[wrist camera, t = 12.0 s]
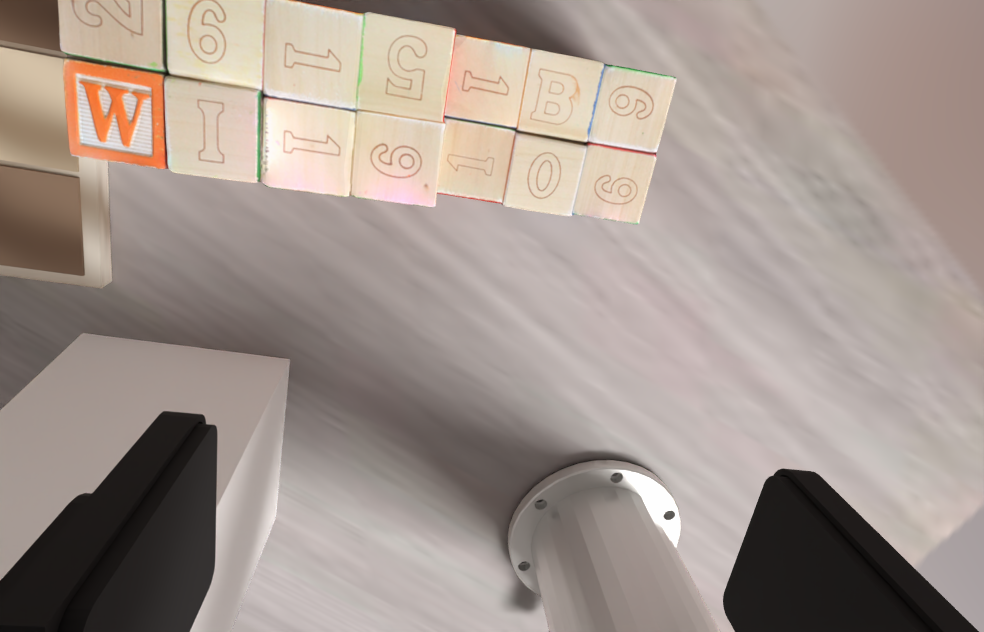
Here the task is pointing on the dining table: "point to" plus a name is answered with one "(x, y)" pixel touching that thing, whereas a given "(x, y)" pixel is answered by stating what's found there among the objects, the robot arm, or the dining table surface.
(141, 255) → the dining table surface
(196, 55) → the stack of blocks
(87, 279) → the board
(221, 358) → the milk
